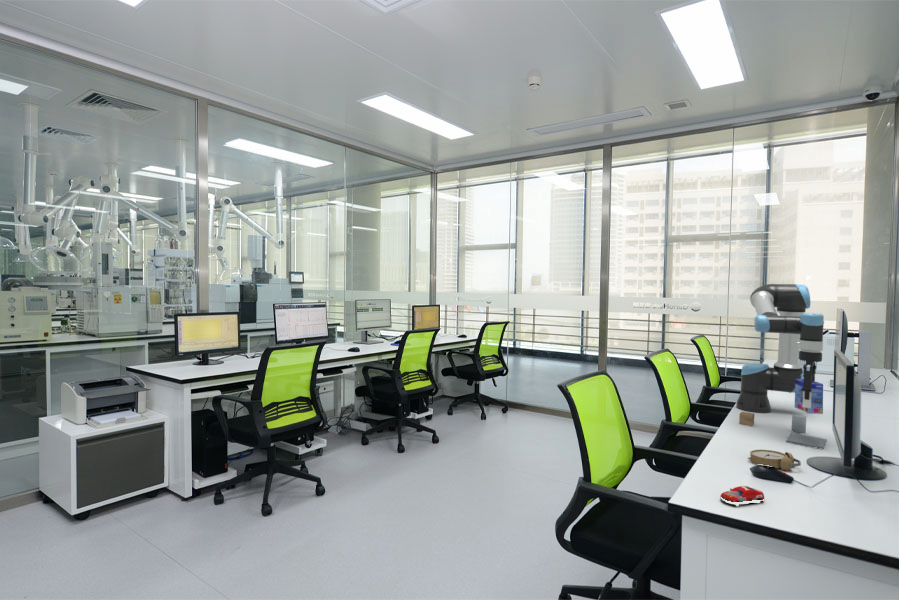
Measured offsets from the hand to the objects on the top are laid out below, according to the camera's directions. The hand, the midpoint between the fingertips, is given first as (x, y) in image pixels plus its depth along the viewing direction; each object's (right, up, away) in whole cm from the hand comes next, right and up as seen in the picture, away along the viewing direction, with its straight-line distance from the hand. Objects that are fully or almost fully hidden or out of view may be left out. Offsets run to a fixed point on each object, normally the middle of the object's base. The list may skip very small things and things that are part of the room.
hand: (808, 405), depth 194 cm
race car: (-61, -17, -55) cm, 83 cm away
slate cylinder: (+6, -15, +14) cm, 21 cm away
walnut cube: (-10, -14, +24) cm, 30 cm away
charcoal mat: (0, -15, +1) cm, 15 cm away
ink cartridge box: (0, -3, 0) cm, 3 cm away
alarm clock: (-31, -16, -25) cm, 43 cm away
